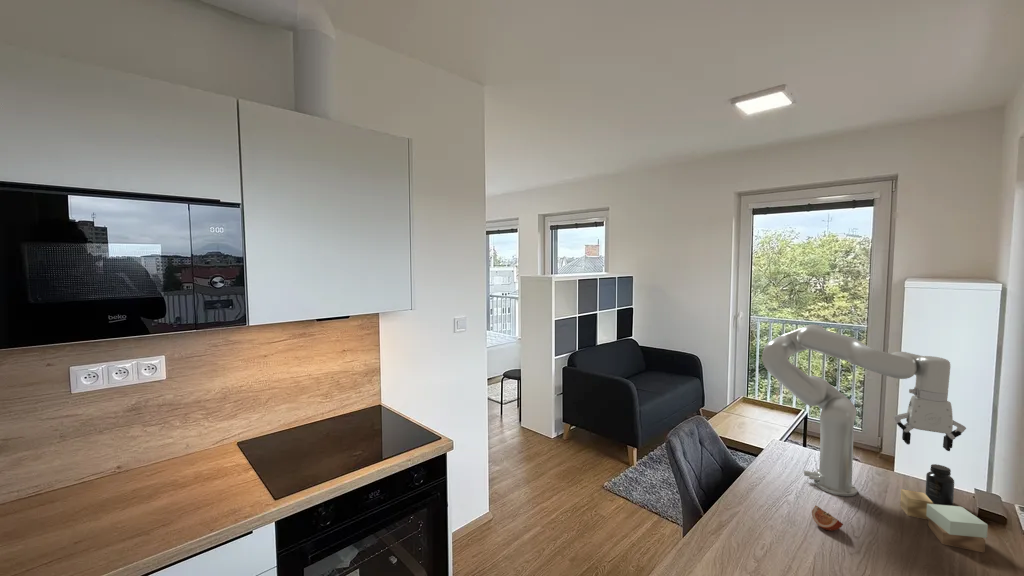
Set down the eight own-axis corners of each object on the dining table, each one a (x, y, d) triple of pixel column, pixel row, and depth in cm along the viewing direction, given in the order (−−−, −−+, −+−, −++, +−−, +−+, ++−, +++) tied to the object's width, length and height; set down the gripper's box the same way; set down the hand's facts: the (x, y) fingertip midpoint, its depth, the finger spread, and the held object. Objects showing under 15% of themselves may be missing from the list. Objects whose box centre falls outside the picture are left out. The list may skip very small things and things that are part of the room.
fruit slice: (806, 520, 136) (807, 505, 136) (825, 518, 137) (826, 503, 137) (828, 536, 128) (829, 521, 128) (848, 535, 129) (849, 519, 128)
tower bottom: (942, 545, 124) (943, 532, 124) (928, 527, 132) (928, 515, 132) (984, 553, 120) (985, 540, 120) (967, 535, 128) (968, 522, 128)
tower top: (949, 534, 123) (950, 521, 122) (926, 515, 132) (926, 503, 131) (986, 538, 121) (987, 524, 121) (960, 519, 130) (961, 506, 129)
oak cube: (907, 515, 138) (908, 498, 137) (900, 506, 143) (901, 489, 143) (931, 520, 135) (932, 502, 135) (923, 510, 141) (924, 493, 140)
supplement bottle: (959, 507, 142) (961, 473, 141) (935, 505, 143) (936, 471, 142) (942, 496, 148) (944, 463, 147) (919, 494, 150) (921, 461, 149)
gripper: (899, 394, 137) (895, 444, 138) (973, 403, 129) (968, 457, 130) (892, 387, 143) (888, 436, 145) (962, 396, 135) (957, 447, 137)
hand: (926, 446), depth 138 cm, fingers open, 9 cm apart
